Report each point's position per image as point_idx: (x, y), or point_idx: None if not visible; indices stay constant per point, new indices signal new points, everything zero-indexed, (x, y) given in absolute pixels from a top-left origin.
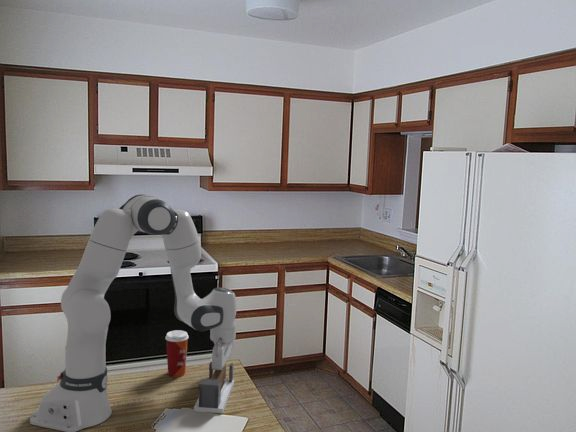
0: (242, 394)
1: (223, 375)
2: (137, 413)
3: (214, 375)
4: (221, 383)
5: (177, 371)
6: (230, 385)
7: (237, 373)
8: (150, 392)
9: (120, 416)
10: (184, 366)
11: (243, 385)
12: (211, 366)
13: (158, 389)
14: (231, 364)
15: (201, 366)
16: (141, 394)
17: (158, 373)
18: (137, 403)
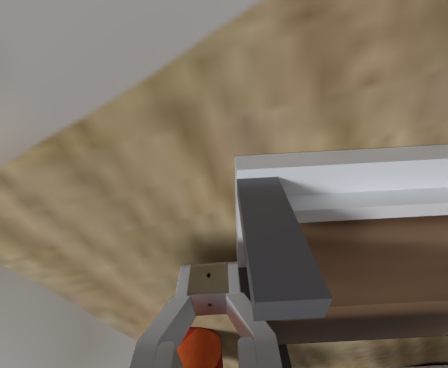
0: (396, 61)
1: (357, 268)
2: (437, 340)
3: (444, 329)
4: (413, 240)
5: (219, 358)
6: (326, 174)
7: (82, 169)
8: (322, 348)
9: (438, 354)
10: (195, 366)
11: (247, 87)
12: (289, 364)
13: (305, 343)
14: (296, 309)
15: (104, 308)
16: (332, 355)
17: None
18: (381, 350)
